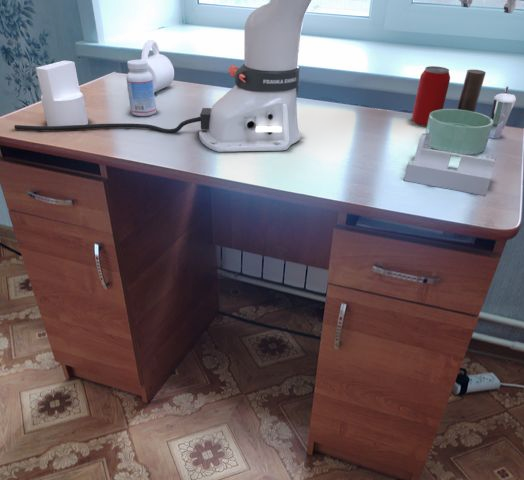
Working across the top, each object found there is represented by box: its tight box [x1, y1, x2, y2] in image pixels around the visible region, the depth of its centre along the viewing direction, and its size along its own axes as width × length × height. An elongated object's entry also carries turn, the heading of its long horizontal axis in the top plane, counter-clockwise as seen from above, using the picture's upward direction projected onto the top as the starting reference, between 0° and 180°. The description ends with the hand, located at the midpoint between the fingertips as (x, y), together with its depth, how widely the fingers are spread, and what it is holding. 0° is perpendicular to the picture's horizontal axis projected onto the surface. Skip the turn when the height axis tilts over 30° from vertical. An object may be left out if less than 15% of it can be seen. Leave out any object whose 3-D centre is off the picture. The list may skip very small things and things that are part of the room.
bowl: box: [424, 108, 493, 156], centre depth 110 cm, size 13×13×6 cm
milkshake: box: [489, 85, 517, 139], centre depth 115 cm, size 5×5×10 cm
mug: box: [128, 39, 175, 94], centre depth 136 cm, size 8×10×12 cm
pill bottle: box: [125, 59, 157, 117], centre depth 120 cm, size 6×6×11 cm
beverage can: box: [411, 65, 451, 127], centre depth 120 cm, size 7×7×12 cm
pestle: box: [456, 69, 486, 112], centre depth 117 cm, size 5×5×12 cm
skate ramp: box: [403, 132, 497, 197], centre depth 97 cm, size 15×13×5 cm
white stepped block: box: [35, 60, 89, 126], centre depth 112 cm, size 9×9×12 cm
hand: (488, 7), depth 105 cm, fingers open, 8 cm apart
